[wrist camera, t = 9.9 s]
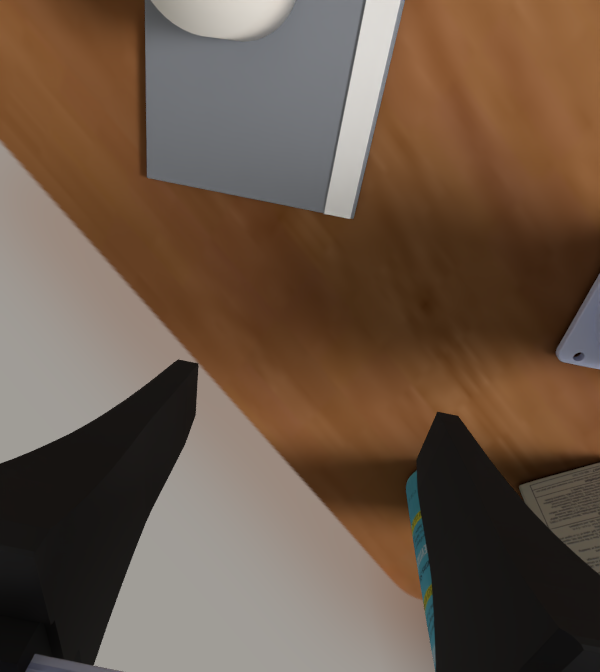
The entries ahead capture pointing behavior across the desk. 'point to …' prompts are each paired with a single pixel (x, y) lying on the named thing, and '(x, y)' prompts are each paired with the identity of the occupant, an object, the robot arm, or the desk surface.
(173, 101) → the gray book
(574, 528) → the skincare box
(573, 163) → the desk surface
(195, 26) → the white tapered cylinder
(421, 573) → the tube
